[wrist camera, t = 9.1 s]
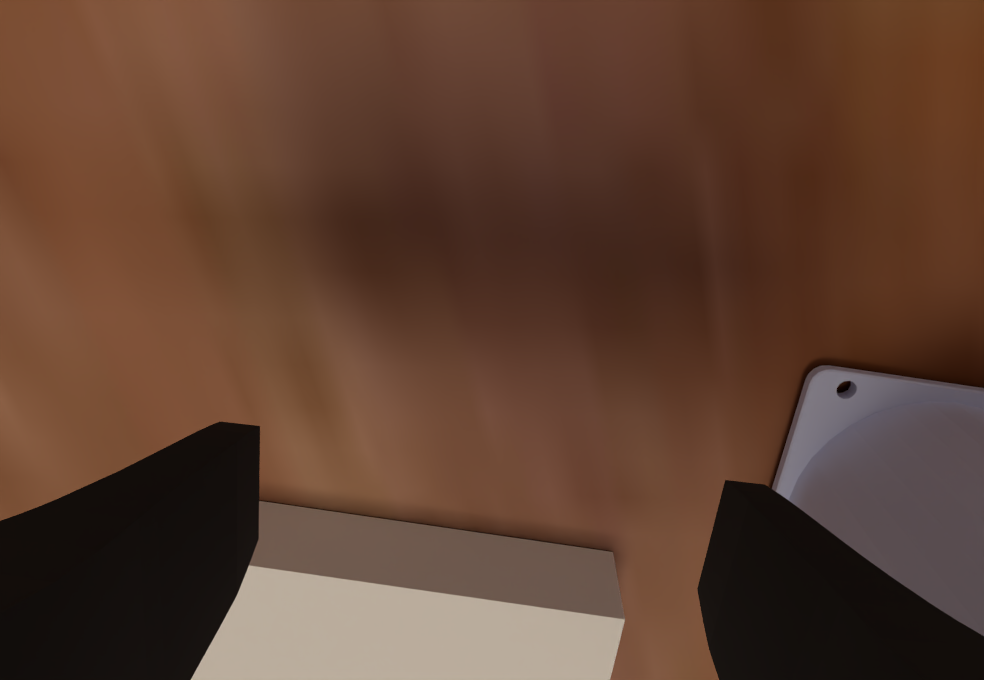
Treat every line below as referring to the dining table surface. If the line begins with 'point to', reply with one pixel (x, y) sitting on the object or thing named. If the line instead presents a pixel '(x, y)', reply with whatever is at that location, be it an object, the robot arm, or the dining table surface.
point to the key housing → (414, 605)
